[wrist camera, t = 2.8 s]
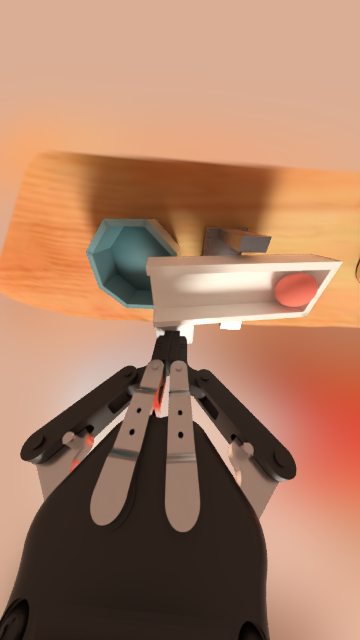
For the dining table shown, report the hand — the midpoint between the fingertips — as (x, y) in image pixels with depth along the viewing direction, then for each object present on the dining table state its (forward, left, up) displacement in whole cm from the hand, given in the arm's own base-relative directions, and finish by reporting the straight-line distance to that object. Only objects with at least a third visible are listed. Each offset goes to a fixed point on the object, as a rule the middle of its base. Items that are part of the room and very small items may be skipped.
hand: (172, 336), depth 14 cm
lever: (-5, -3, -6) cm, 8 cm away
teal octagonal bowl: (+5, -5, -12) cm, 13 cm away
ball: (-11, -5, -2) cm, 12 cm away
